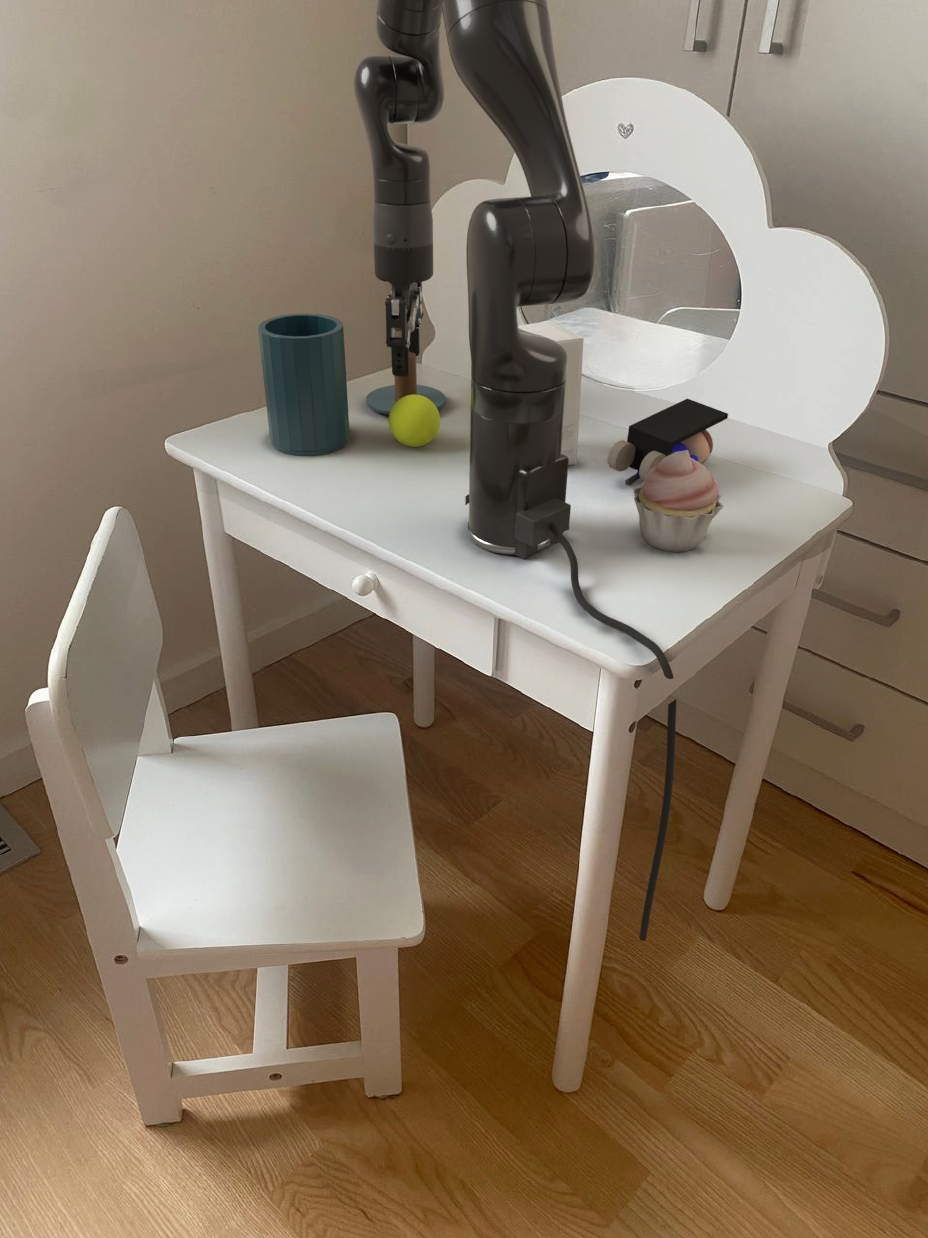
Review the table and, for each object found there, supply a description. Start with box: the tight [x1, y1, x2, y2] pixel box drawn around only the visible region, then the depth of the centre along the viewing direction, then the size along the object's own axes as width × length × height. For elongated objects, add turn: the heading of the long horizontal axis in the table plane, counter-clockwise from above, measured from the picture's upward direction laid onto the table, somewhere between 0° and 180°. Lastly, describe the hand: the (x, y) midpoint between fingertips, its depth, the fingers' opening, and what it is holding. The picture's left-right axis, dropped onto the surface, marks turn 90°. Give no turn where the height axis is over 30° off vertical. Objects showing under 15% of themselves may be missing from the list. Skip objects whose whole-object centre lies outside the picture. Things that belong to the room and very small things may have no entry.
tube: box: [257, 313, 351, 457], centre depth 118 cm, size 10×10×15 cm
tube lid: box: [365, 352, 447, 416], centre depth 131 cm, size 11×11×7 cm
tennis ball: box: [388, 395, 441, 448], centre depth 120 cm, size 6×6×6 cm
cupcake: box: [632, 450, 725, 553], centre depth 99 cm, size 9×9×10 cm
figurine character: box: [607, 398, 729, 486], centre depth 113 cm, size 7×8×15 cm
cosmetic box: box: [518, 320, 585, 466], centre depth 115 cm, size 8×7×16 cm
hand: (406, 365), depth 130 cm, fingers open, 8 cm apart
